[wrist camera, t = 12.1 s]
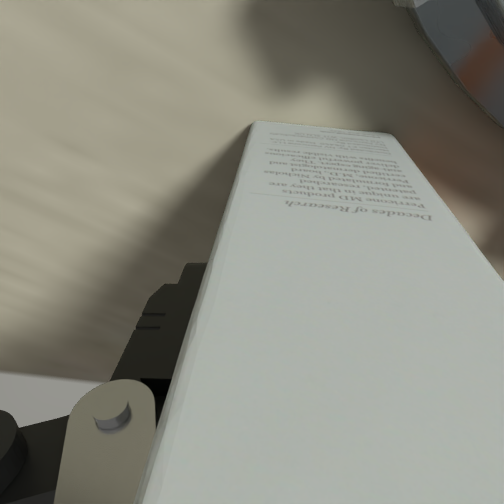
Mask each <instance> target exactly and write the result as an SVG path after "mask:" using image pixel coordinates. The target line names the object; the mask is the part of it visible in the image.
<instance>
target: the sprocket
mask: <svg viewBox="0 0 504 504" xmlns="http://www.w3.org/2000/svg"><path fill="white" fill-rule="evenodd" d="M392 1H393V4H394V6H403V7H412V8H417V7H419V6H420V5H422V4H423V3H425V2H427V1H428V0H392ZM475 2H476V4H477V6H478V7H479V9H480V11H481V13H482V14H483V16H484V18H485V20H486V21H487V23H488V25H489V27H490V28H491V30H492V32H493V34H494V35H495V37H496V39H497V40H498V42H499V43H500V44H501V45H502V46H503V48H504V0H475Z"/></svg>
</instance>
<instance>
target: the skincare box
mask: <svg viewBox="0 0 504 504" xmlns="http://www.w3.org/2000/svg"><path fill="white" fill-rule="evenodd" d="M133 504H504V281H503V280H502V279H501V277H500V276H499V275H498V273H497V272H496V271H495V269H494V268H493V267H492V265H491V264H490V263H489V261H488V260H487V259H486V258H485V256H484V255H483V254H482V252H481V251H480V250H479V248H478V247H477V246H476V244H475V243H474V241H473V240H472V239H471V237H470V236H469V234H468V233H467V232H466V230H465V229H464V228H463V227H462V225H461V224H460V223H459V221H458V220H457V219H456V217H455V216H454V215H453V213H452V212H451V211H450V209H449V208H448V207H447V205H446V204H445V203H444V202H443V200H442V199H441V198H440V197H439V195H438V194H437V193H436V191H435V190H434V188H433V187H432V186H431V185H430V183H429V182H428V180H427V179H426V178H425V177H424V175H423V174H422V173H421V171H420V170H419V169H418V167H417V166H416V165H415V163H414V162H413V161H412V159H411V158H410V157H409V155H408V154H407V153H406V152H405V150H404V149H403V148H402V146H401V145H400V144H399V142H398V141H397V140H396V139H395V137H394V136H393V135H391V134H388V133H384V132H369V131H355V130H345V129H336V128H327V127H318V126H308V125H298V124H288V123H278V122H268V121H254V122H253V123H252V125H251V128H250V131H249V134H248V138H247V141H246V144H245V147H244V151H243V154H242V157H241V161H240V164H239V167H238V170H237V173H236V177H235V180H234V183H233V186H232V189H231V192H230V195H229V199H228V202H227V205H226V208H225V211H224V214H223V217H222V220H221V223H220V226H219V229H218V233H217V236H216V239H215V242H214V245H213V248H212V252H211V255H210V258H209V261H208V264H207V267H206V270H205V273H204V276H203V279H202V283H201V286H200V289H199V293H198V296H197V299H196V302H195V305H194V308H193V311H192V314H191V317H190V321H189V324H188V327H187V330H186V334H185V337H184V340H183V343H182V347H181V350H180V353H179V357H178V360H177V363H176V367H175V370H174V374H173V377H172V380H171V384H170V387H169V390H168V393H167V397H166V400H165V403H164V406H163V410H162V413H161V416H160V419H159V422H158V426H157V429H156V432H155V435H154V438H153V441H152V445H151V448H150V451H149V454H148V458H147V461H146V464H145V467H144V470H143V474H142V477H141V480H140V483H139V487H138V490H137V493H136V496H135V500H134V503H133Z"/></svg>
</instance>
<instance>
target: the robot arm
mask: <svg viewBox="0 0 504 504" xmlns="http://www.w3.org/2000/svg"><path fill="white" fill-rule="evenodd" d="M207 264H208V263H187V264H186V265H185V267H184V270H183V272H182V275H181V277H180V280H179V282H178V284H164V285H163V286H162V287H161V288H160V289H159V290H158V291H156V292H155V293H154V294H153V295H152V296H151V297H150V298H149V300H148V302H147V304H146V306H145V308H144V311H143V313H142V317H140V319H139V321H138V323H137V325H136V330H134V331H133V334H132V336H131V338H130V340H129V342H128V344H127V346H126V348H125V350H124V352H123V354H122V357H121V359H120V361H119V363H118V365H117V367H116V369H115V371H114V373H113V375H112V377H111V380H110V382H107V383H104V384H102V385H99V386H98V387H96V388H94V389H92V390H91V391H89V392H88V393H87V394H86V395H84V396H83V397H82V398H81V399H80V400H79V401H78V402H77V404H76V405H75V407H74V408H73V409H72V412H71V414H70V415H67V416H64V417H61V418H57V419H53V420H49V421H45V422H41V423H37V424H33V425H29V426H25V427H21V428H19V427H18V425H17V423H16V421H15V420H14V418H13V416H12V415H10V414H9V413H8V412H5V411H2V410H0V504H133V503H134V500H135V496H136V493H137V490H138V487H139V483H140V480H141V477H142V474H143V470H144V467H145V464H146V461H147V458H148V454H149V451H150V448H151V445H152V441H153V438H154V435H155V432H156V429H157V426H158V422H159V419H160V416H161V413H162V410H163V406H164V403H165V400H166V397H167V393H168V390H169V387H170V384H171V380H172V377H173V374H174V370H175V367H176V363H177V360H178V357H179V353H180V350H181V347H182V343H183V340H184V337H185V334H186V330H187V327H188V324H189V321H190V317H191V314H192V311H193V308H194V305H195V302H196V299H197V296H198V293H199V289H200V286H201V283H202V279H203V276H204V273H205V270H206V267H207Z"/></svg>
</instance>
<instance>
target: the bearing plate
mask: <svg viewBox="0 0 504 504" xmlns="http://www.w3.org/2000/svg"><path fill="white" fill-rule="evenodd" d="M406 9H407V11H408V13H409V15H410V17H411V19H412V21H413V23H414V25H415V27H416V29H417V31H418V32H419V34H420V35H421V37H422V38H423V39H424V41H425V42H426V43H427V45H428V46H429V48H430V49H431V50H432V52H433V53H434V54H435V56H436V57H437V59H438V60H439V61H440V63H441V64H442V66H443V67H444V68H445V70H446V71H447V72H448V74H449V75H450V77H451V78H452V79H453V81H454V82H455V83H456V84H457V85H458V86H459V87H460V88H461V89H462V90H463V91H464V92H465V93H466V94H467V95H468V96H469V97H470V98H471V99H472V100H473V101H474V102H475V103H476V104H477V105H478V106H479V107H480V108H481V109H482V110H483V111H484V112H485V113H486V114H487V115H488V116H489V117H490V118H491V119H492V120H493V121H494V122H495V123H496V124H498V125H499V126H500V127H502V128H503V129H504V48H503V46H502V45H501V44H500V43H499V42H498V40H497V39H496V37H495V35H494V34H493V32H492V30H491V28H490V27H489V25H488V23H487V21H486V20H485V18H484V16H483V14H482V13H481V11H480V9H479V7H478V6H477V4H476V2H475V0H428V1H427V2H425V3H423V4H422V5H420V6H419V7H417V8H412V7H406Z"/></svg>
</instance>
